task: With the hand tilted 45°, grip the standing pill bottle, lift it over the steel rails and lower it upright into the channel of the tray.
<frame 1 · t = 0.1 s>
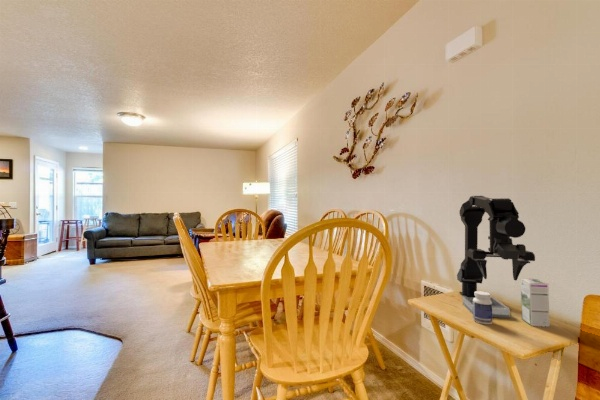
hand: (500, 279, 98), 15 cm above the table, tool pointing down, fingers open, 9 cm apart
pill bottle: (482, 322, 98), on the table
tray: (484, 310, 108), on the table
syrup box: (535, 323, 97), on the table
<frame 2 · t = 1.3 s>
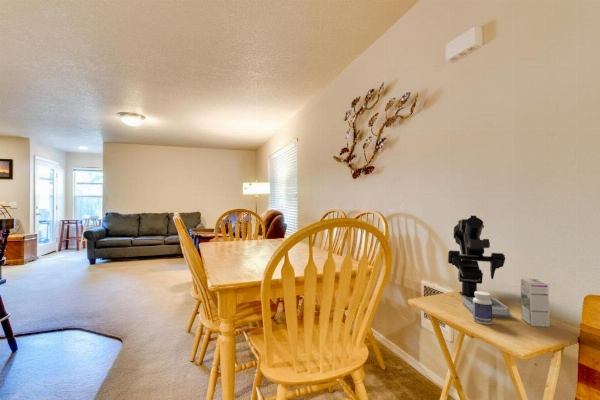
hand: (477, 277, 106), 13 cm above the table, tool tilted 45°, fingers open, 9 cm apart
nothing on the table moved.
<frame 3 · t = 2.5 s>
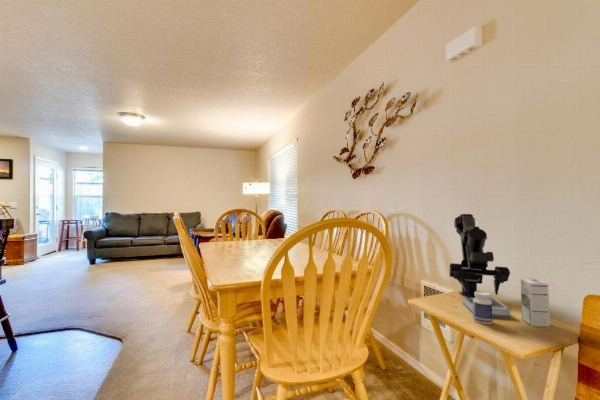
hand: (481, 292, 100), 9 cm above the table, tool tilted 45°, fingers open, 9 cm apart
nothing on the table moved.
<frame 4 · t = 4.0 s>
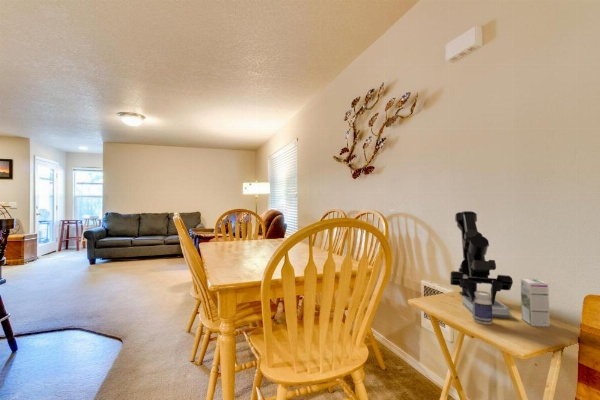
hand: (483, 302, 97), 7 cm above the table, tool tilted 45°, fingers closed on pill bottle, 5 cm apart
pill bottle: (482, 322, 98), on the table, touching gripper
everything else where it was.
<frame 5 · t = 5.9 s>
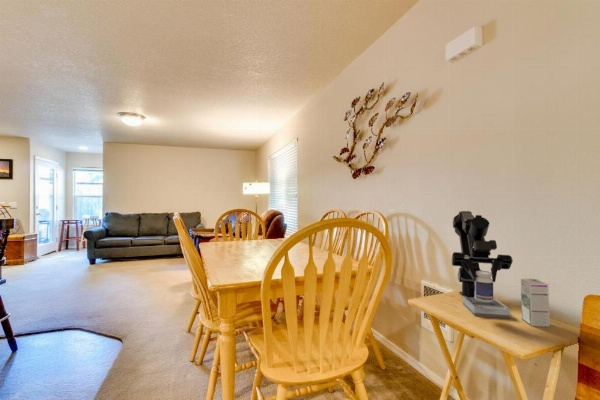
hand: (484, 280, 100), 14 cm above the table, tool tilted 45°, fingers closed on pill bottle, 5 cm apart
pill bottle: (483, 300, 102), point 6 cm above the table, touching gripper
everything else where it was.
when the fingers open (9 cm above the table, at t = 8.1 s): pill bottle stays where it is, resting on tray.
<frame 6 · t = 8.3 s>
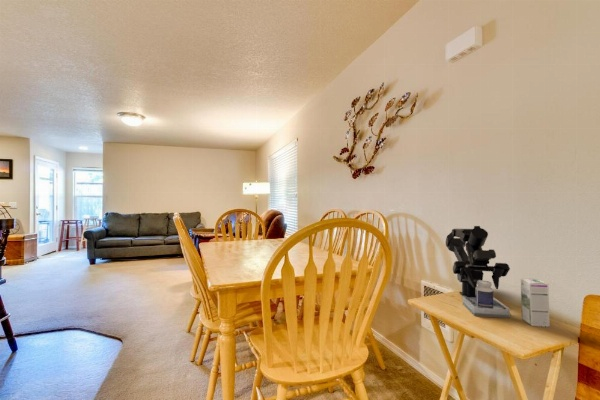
hand: (485, 288, 107), 9 cm above the table, tool tilted 45°, fingers open, 7 cm apart
pill bottle: (484, 308, 108), point 1 cm above the table, touching tray
everything else where it was.
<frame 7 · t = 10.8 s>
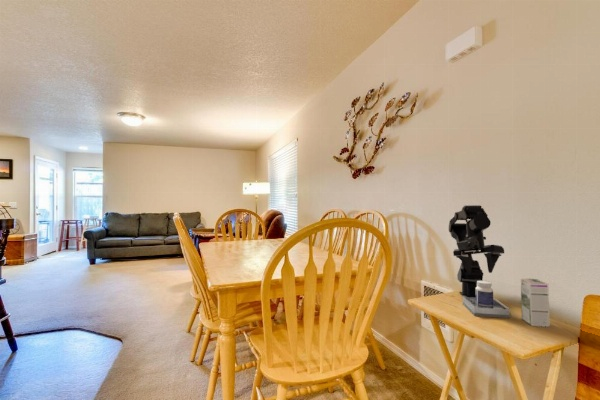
hand: (479, 273, 113), 13 cm above the table, tool tilted 20°, fingers open, 9 cm apart
nothing on the table moved.
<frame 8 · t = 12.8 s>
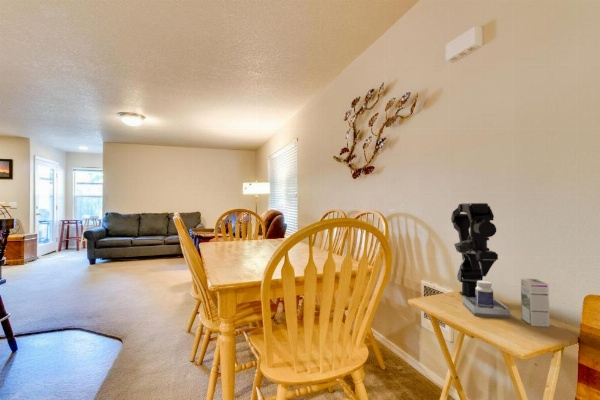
hand: (478, 273, 113), 13 cm above the table, tool pointing down, fingers open, 9 cm apart
nothing on the table moved.
at the end: pill bottle inside the target area on the tray (0.2 cm from its centre), point 0.8 cm above the tray's base; pill bottle tilted 0°; the gripper is holding nothing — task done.
